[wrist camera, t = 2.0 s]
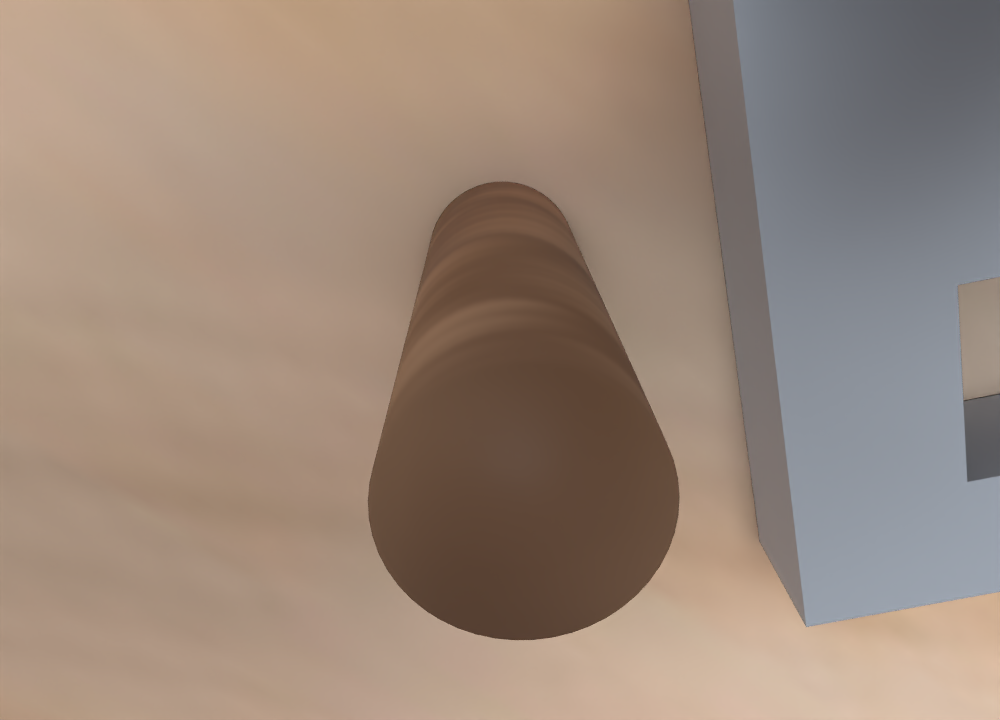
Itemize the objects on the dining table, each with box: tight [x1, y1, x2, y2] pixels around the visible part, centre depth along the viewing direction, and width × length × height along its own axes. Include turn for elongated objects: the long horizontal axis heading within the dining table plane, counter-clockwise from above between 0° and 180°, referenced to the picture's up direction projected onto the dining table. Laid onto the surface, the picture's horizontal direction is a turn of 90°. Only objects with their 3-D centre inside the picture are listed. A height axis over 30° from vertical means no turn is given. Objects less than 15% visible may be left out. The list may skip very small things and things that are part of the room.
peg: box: [368, 182, 679, 640], centre depth 19 cm, size 4×4×15 cm
